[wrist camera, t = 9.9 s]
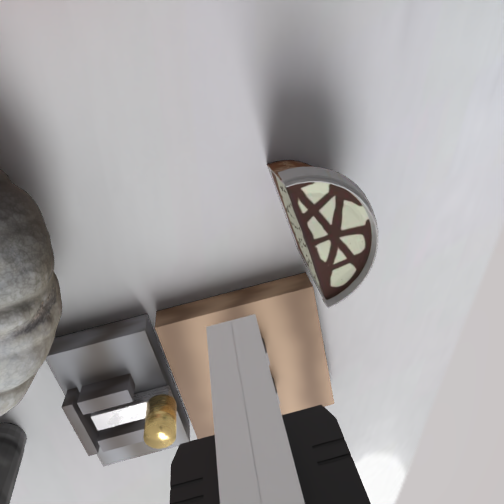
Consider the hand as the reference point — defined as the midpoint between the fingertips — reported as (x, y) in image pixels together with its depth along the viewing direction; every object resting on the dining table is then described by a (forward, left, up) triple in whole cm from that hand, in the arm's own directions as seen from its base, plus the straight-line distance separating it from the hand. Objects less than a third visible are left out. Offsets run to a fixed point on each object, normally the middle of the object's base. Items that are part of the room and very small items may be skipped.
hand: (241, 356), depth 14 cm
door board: (+6, +23, -29) cm, 38 cm away
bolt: (+13, +23, -26) cm, 37 cm away
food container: (-9, +7, -30) cm, 32 cm away
